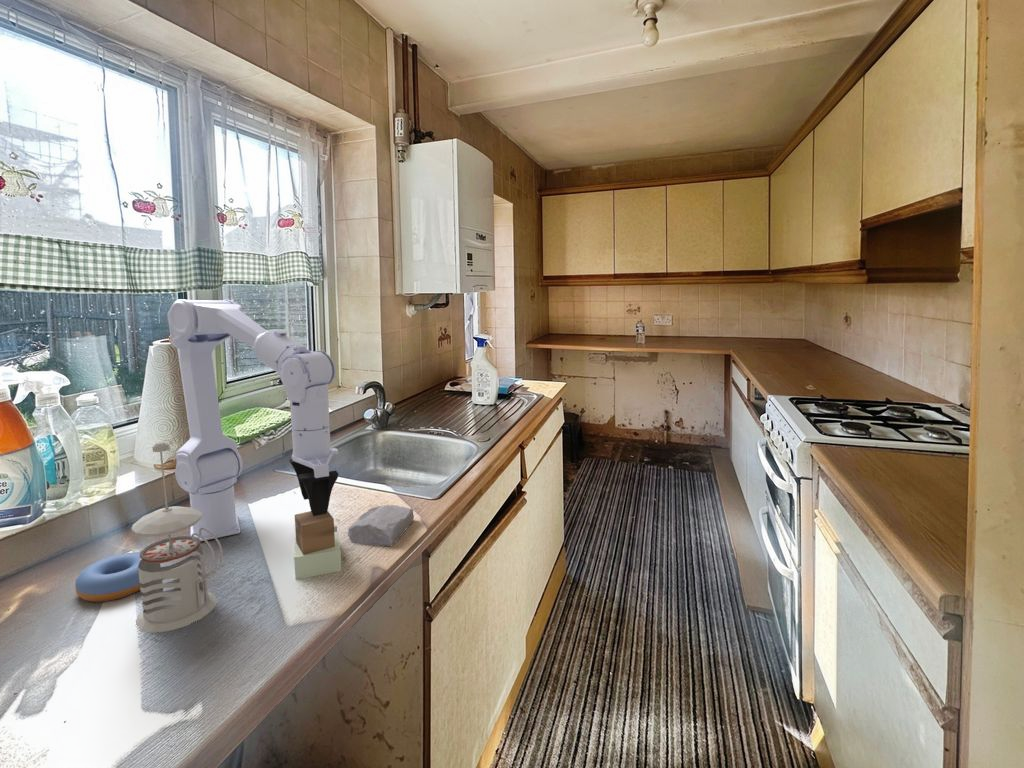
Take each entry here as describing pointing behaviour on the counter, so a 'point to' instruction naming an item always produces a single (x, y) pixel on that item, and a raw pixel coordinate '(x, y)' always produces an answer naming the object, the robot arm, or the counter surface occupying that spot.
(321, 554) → the sage block
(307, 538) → the walnut cube
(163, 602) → the french press
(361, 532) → the stone block
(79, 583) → the doughnut
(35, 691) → the counter surface
